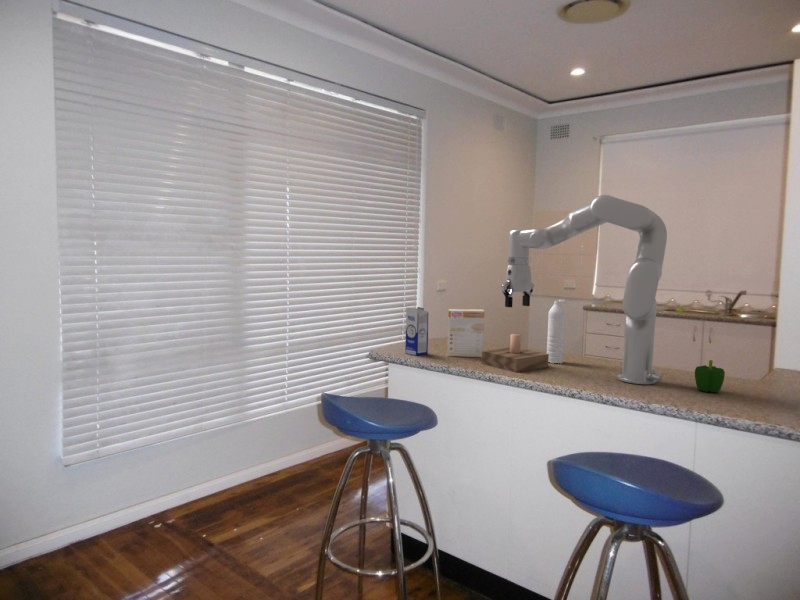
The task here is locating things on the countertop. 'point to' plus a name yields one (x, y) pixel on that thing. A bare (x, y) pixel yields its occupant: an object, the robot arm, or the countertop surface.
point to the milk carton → (416, 331)
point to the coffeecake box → (465, 332)
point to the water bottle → (556, 333)
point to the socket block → (514, 359)
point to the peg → (515, 343)
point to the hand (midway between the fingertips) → (517, 306)
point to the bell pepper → (709, 378)
